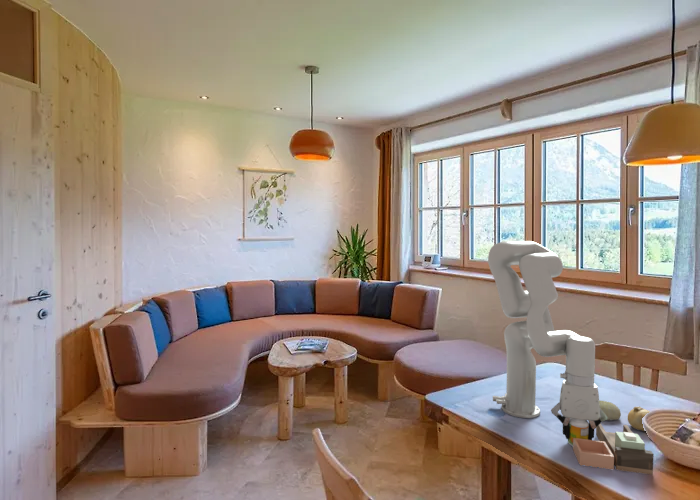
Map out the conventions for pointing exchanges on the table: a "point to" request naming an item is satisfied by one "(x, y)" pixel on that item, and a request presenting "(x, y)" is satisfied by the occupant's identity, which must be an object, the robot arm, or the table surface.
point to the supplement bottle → (578, 429)
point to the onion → (637, 417)
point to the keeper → (629, 440)
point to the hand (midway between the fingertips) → (578, 437)
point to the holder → (593, 453)
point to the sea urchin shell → (610, 410)
